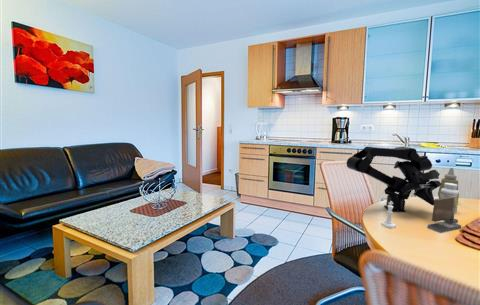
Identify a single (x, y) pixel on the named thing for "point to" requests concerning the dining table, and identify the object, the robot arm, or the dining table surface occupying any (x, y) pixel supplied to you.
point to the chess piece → (389, 218)
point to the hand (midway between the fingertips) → (434, 204)
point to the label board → (445, 225)
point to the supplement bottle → (450, 192)
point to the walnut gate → (444, 208)
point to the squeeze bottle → (448, 180)
